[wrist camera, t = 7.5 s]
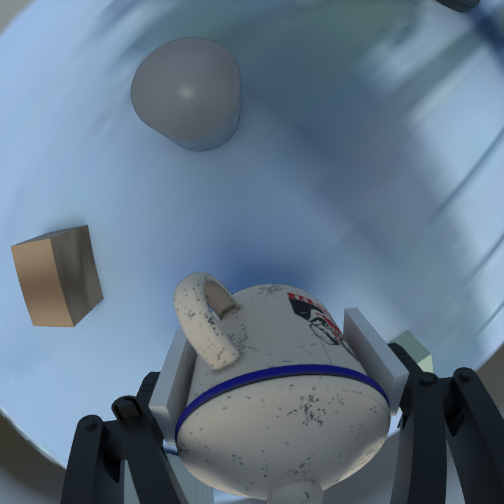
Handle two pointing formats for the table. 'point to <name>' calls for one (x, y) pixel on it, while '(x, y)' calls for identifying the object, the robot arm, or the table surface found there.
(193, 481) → the canister
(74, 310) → the walnut block
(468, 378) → the robot arm
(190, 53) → the grey rounded piece
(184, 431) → the teacup with lid
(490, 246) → the table surface
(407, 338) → the sage green block
